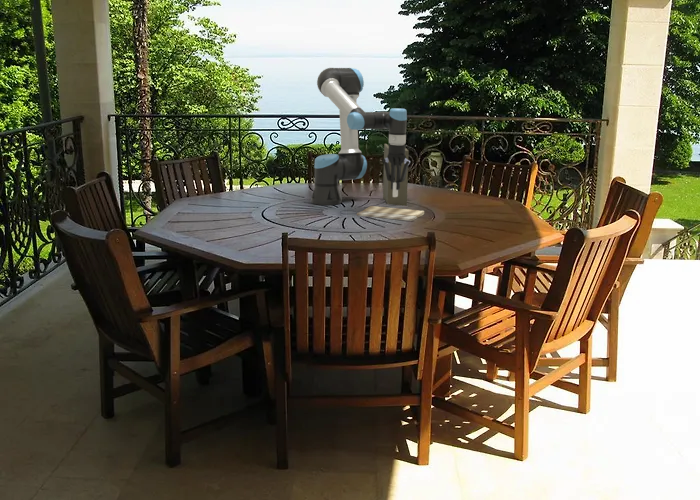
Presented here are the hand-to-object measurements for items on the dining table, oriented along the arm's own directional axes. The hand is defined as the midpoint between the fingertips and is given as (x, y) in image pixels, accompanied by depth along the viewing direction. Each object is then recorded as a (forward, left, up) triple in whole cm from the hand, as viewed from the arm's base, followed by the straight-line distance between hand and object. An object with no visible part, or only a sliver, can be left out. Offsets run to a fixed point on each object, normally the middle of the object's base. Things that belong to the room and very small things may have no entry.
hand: (395, 196), depth 300 cm
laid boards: (0, -11, -8) cm, 14 cm away
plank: (0, -2, -8) cm, 8 cm away
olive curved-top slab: (-11, +28, -8) cm, 31 cm away
